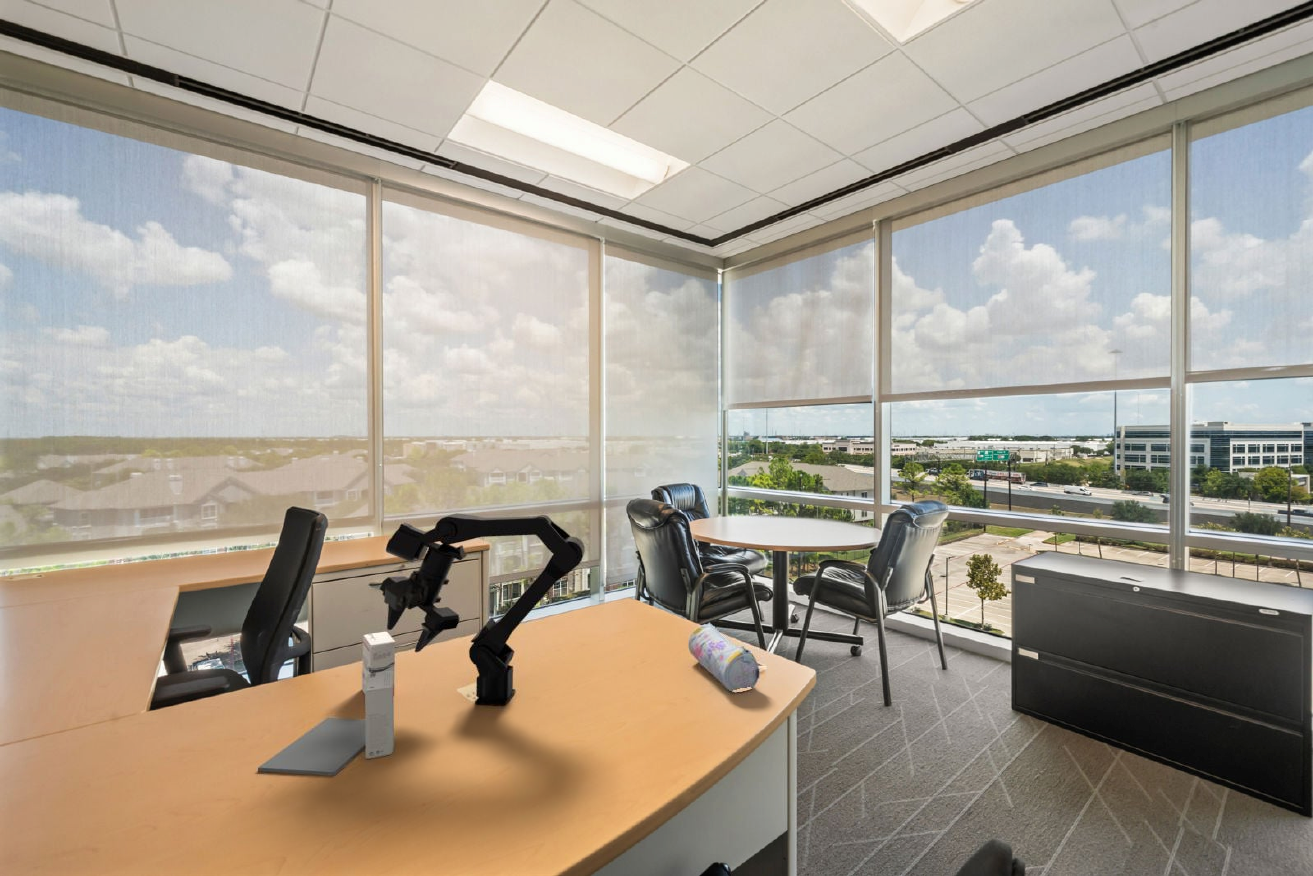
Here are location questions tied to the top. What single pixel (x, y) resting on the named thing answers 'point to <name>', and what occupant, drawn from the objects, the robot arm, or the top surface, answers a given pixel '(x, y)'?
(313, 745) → the mat
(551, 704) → the top surface
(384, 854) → the top surface
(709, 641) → the pencil case
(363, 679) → the ink box
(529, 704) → the top surface
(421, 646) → the robot arm
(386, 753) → the skincare box
